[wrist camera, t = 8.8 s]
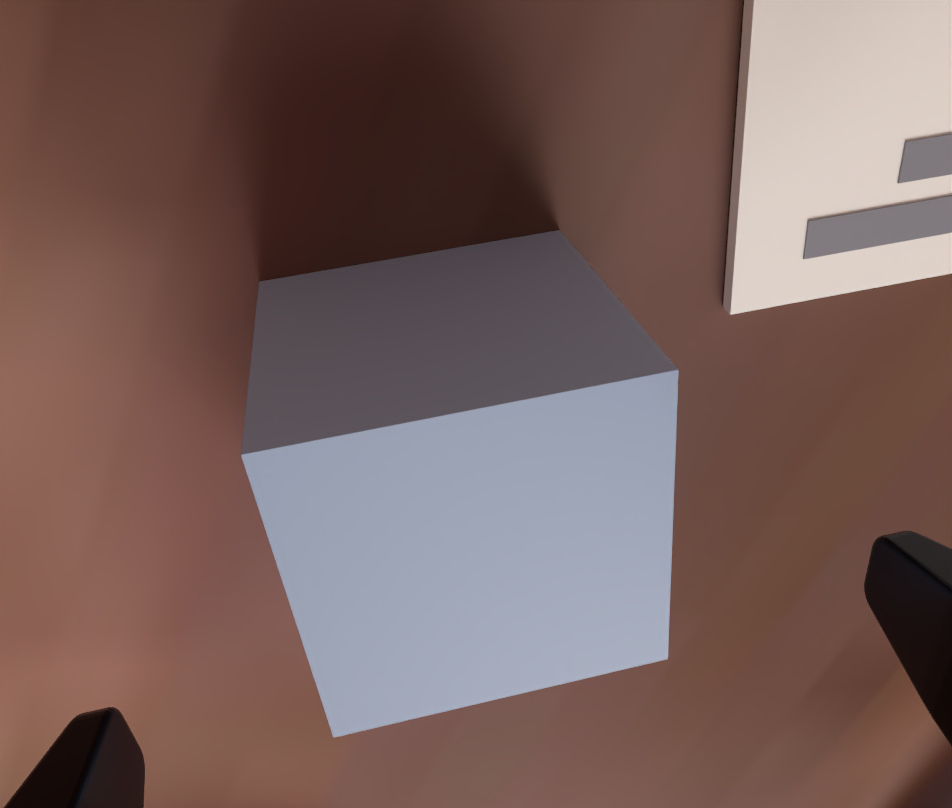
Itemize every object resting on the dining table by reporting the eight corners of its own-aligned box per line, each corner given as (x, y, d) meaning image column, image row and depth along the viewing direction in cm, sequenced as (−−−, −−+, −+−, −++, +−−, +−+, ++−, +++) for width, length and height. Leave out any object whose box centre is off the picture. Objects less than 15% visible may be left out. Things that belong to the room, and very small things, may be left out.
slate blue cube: (558, 228, 13) (678, 369, 9) (570, 465, 16) (668, 659, 12) (259, 280, 13) (241, 454, 9) (323, 516, 15) (333, 737, 11)
